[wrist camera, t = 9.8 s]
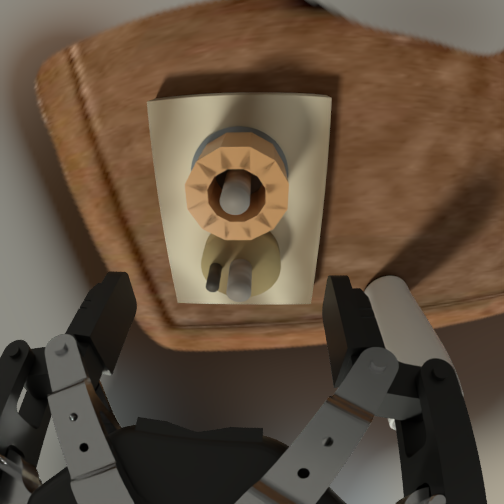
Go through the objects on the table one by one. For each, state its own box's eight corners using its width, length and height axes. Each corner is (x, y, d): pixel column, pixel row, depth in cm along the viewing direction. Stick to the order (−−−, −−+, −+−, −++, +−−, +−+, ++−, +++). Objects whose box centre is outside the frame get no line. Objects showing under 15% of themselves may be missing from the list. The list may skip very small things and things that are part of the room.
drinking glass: (421, 286, 31) (474, 398, 19) (377, 322, 34) (411, 435, 22) (389, 256, 29) (448, 382, 17) (341, 297, 32) (373, 426, 20)
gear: (285, 132, 21) (290, 147, 17) (282, 213, 24) (285, 240, 21) (194, 133, 21) (181, 148, 18) (200, 213, 24) (190, 239, 21)
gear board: (325, 94, 21) (351, 107, 15) (308, 290, 32) (317, 343, 26) (155, 98, 21) (119, 113, 15) (181, 289, 32) (167, 341, 26)
